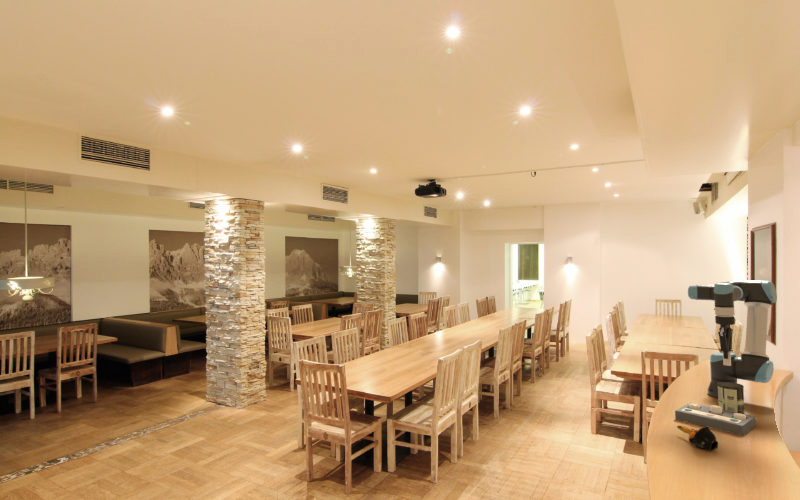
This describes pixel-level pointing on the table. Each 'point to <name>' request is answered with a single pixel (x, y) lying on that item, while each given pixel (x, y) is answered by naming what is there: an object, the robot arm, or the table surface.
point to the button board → (716, 419)
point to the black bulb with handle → (701, 437)
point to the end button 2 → (740, 416)
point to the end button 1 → (694, 406)
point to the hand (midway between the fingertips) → (727, 365)
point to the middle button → (716, 409)
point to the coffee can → (731, 396)
